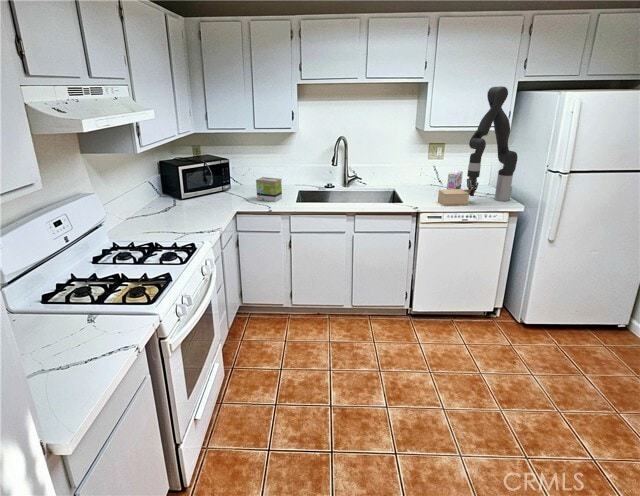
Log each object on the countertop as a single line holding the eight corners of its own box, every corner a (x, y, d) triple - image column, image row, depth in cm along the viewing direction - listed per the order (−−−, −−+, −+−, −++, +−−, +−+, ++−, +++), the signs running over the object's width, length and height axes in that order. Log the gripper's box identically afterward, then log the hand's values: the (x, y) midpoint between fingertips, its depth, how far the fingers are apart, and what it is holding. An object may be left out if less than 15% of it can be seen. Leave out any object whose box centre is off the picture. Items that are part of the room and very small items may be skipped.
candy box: (453, 197, 289) (456, 174, 283) (445, 196, 293) (448, 173, 287) (460, 193, 300) (463, 171, 294) (452, 192, 303) (455, 170, 297)
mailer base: (460, 200, 281) (461, 190, 279) (467, 205, 270) (468, 194, 268) (437, 201, 280) (438, 191, 278) (443, 205, 269) (445, 195, 267)
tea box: (256, 200, 286) (255, 179, 281) (263, 197, 295) (262, 176, 289) (275, 202, 281) (274, 181, 276) (282, 198, 290) (281, 178, 284)
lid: (470, 190, 279) (470, 187, 278) (477, 194, 268) (478, 191, 267) (438, 191, 278) (439, 188, 277) (445, 195, 267) (445, 192, 266)
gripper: (484, 171, 262) (480, 197, 268) (475, 167, 275) (471, 192, 281) (472, 171, 261) (469, 198, 267) (464, 167, 274) (461, 192, 280)
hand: (470, 195), depth 274 cm, fingers closed on lid, 3 cm apart
